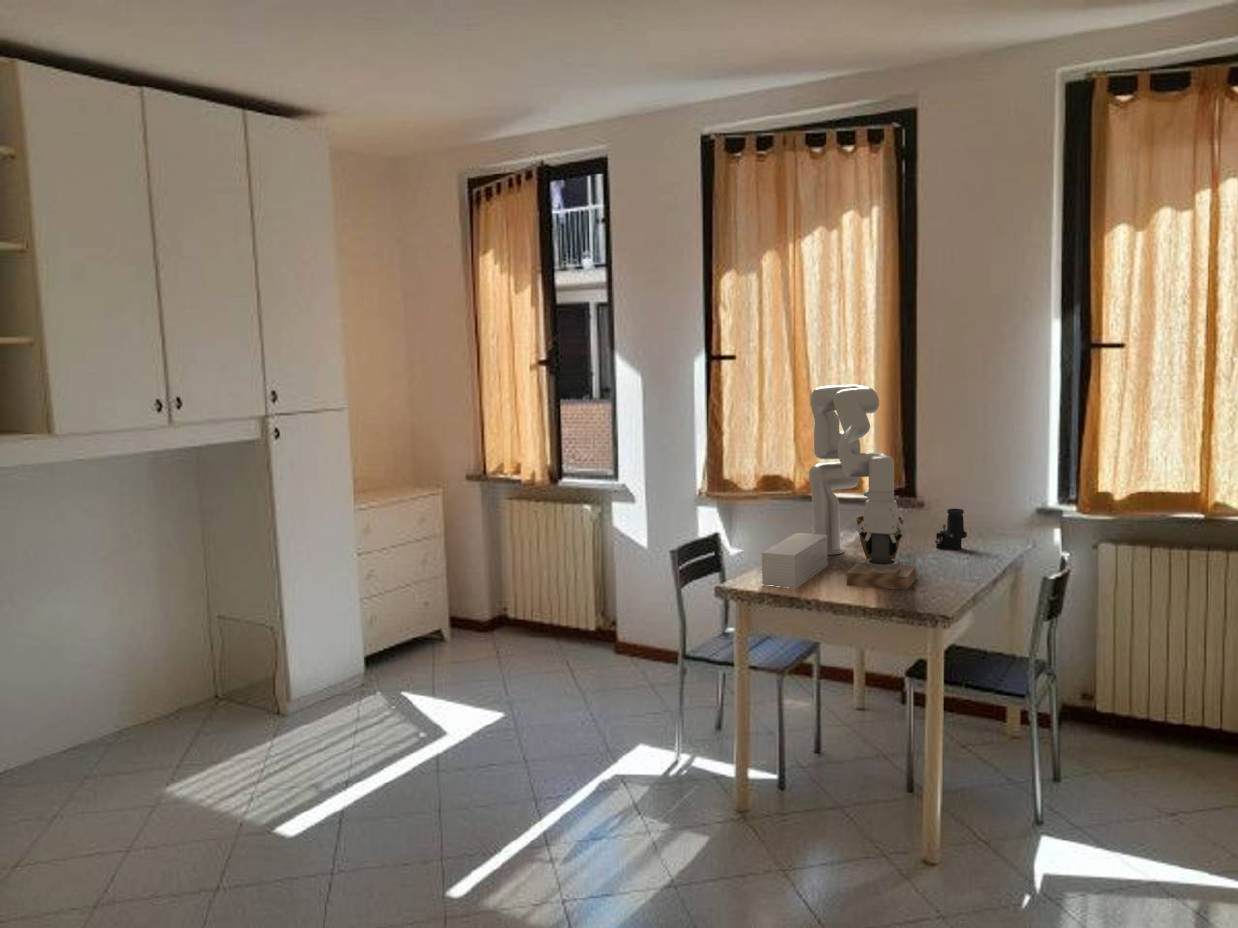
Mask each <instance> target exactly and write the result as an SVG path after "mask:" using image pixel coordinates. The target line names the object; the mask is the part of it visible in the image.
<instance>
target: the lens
mask: <svg viewBox="0 0 1238 928" xmlns="http://www.w3.org/2000/svg"><path fill="white" fill-rule="evenodd" d="M891 542H892V540H891V537H890V535H889V534H872V535H871V563H873V564H883V565H885V564H892V556H891V555H890V544H891Z"/></svg>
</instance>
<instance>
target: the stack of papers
mask: <svg viewBox="0 0 1238 928" xmlns="http://www.w3.org/2000/svg"><path fill="white" fill-rule="evenodd" d="M826 567H828V555H827V535H821V534H812V533H805V532H804V533H803V532H796V533H793V534H792V535H790V536H788V537H787V538H785V539H783V540H781V541H779V542H778V543H776V544H774V545H772V546H771V547H769V548H768V549H767V548H766V550H764V551H762V552H761V583H762V584H764V585H774V586H780V587H789V588H796V589H797V587H798V586H799V587H800V586H802V585H803V584H804V583H806V582H807V581H809V580H810V579H811V578H813V577H814V576H815V575H817V574H819V572H821V571H823V570H824V569H825V568H826ZM801 584H802V585H801ZM789 588H788V589H789Z"/></svg>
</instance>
